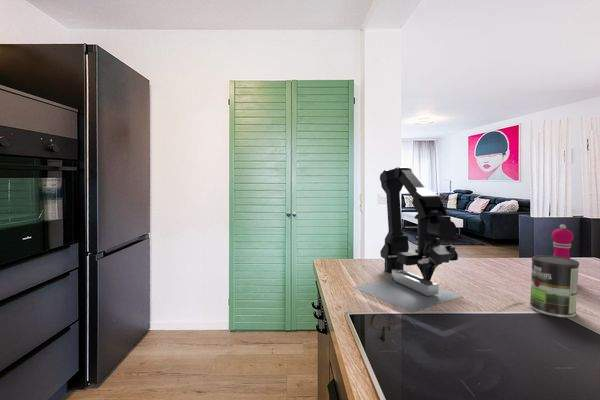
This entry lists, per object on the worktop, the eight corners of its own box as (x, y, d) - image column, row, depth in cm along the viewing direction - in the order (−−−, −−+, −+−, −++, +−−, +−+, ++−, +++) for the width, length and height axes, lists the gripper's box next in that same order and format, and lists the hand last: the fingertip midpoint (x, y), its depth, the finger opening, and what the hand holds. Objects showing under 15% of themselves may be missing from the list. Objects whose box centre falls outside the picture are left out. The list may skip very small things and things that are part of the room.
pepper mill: (578, 284, 112) (581, 226, 111) (554, 283, 114) (556, 225, 112) (566, 278, 119) (568, 223, 118) (543, 277, 121) (545, 222, 119)
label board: (352, 290, 108) (352, 286, 108) (401, 278, 120) (401, 275, 120) (412, 315, 88) (412, 311, 88) (463, 298, 100) (463, 295, 100)
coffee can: (550, 318, 86) (552, 264, 85) (520, 303, 96) (522, 255, 95) (587, 317, 86) (590, 263, 86) (554, 302, 97) (556, 254, 96)
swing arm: (389, 278, 116) (389, 268, 116) (398, 276, 117) (398, 267, 117) (427, 295, 98) (427, 284, 98) (438, 294, 100) (438, 283, 99)
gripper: (417, 241, 94) (417, 295, 95) (471, 236, 99) (471, 287, 100) (395, 235, 105) (396, 283, 106) (445, 231, 110) (445, 277, 111)
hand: (427, 283), depth 105 cm, fingers closed
